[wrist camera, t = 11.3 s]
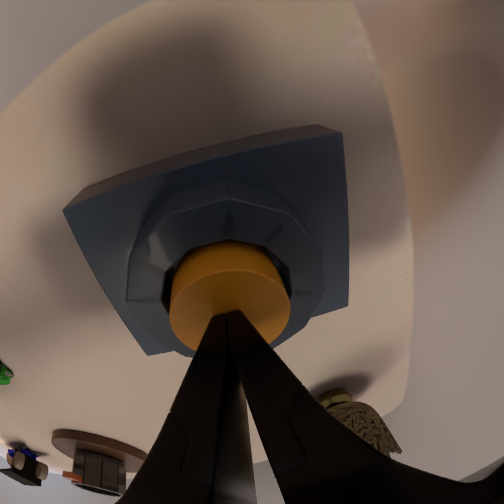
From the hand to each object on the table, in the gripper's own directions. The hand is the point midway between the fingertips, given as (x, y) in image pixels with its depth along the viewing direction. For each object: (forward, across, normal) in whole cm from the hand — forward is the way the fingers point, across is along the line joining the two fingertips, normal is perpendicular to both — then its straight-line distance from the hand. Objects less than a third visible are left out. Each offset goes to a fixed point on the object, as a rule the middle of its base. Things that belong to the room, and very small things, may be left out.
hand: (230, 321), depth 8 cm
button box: (+5, 0, 0) cm, 5 cm away
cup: (+5, -5, +18) cm, 19 cm away
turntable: (+5, +23, +24) cm, 34 cm away
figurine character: (+5, +47, +30) cm, 56 cm away
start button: (+2, 0, 0) cm, 2 cm away
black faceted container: (+4, +23, +23) cm, 33 cm away
